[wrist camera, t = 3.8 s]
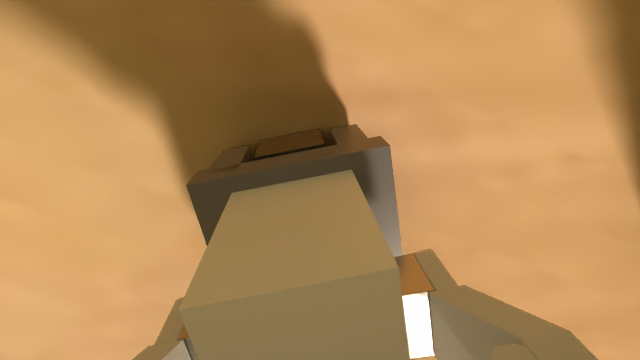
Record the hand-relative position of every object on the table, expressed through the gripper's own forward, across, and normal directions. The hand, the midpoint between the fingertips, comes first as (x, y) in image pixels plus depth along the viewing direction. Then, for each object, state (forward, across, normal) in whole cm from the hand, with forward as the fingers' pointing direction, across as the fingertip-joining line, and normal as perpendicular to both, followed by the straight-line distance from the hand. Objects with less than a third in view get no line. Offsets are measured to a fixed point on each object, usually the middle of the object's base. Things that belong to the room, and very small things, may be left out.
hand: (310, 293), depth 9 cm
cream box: (+6, 0, 0) cm, 6 cm away
